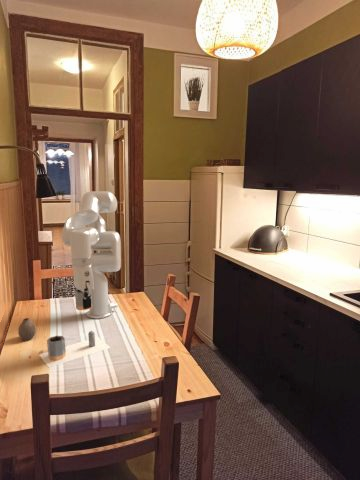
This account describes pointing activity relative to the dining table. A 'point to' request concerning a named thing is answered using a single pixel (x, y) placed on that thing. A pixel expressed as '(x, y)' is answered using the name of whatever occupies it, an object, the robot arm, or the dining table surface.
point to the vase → (26, 329)
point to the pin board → (78, 350)
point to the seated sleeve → (56, 348)
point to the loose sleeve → (80, 300)
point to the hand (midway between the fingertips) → (84, 305)
